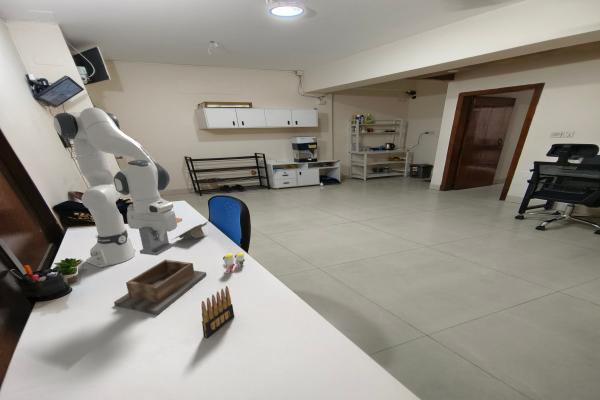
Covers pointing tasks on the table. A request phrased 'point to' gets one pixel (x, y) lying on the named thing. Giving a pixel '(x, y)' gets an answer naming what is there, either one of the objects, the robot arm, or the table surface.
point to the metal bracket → (153, 242)
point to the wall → (194, 231)
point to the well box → (159, 286)
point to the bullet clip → (216, 313)
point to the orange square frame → (178, 219)
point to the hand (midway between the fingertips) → (155, 240)
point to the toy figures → (229, 261)
